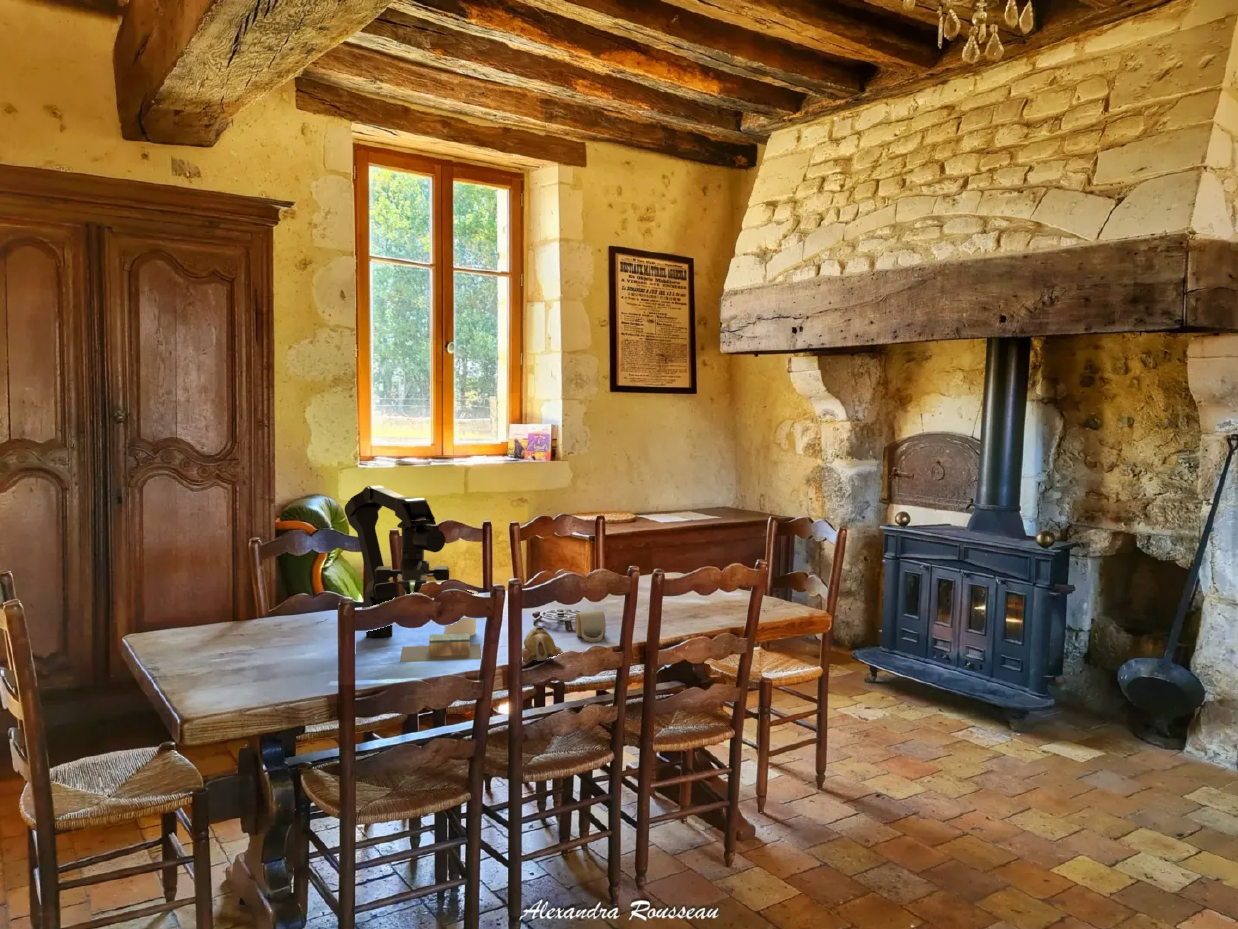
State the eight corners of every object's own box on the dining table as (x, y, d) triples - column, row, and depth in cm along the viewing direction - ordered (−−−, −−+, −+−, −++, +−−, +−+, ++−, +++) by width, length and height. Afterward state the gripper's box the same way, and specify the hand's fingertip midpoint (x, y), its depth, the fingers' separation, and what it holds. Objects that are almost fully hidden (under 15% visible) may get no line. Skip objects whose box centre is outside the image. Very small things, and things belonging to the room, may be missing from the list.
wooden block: (429, 640, 225) (469, 639, 227) (429, 634, 231) (469, 633, 233) (429, 656, 225) (469, 654, 227) (429, 649, 231) (469, 648, 233)
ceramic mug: (573, 633, 253) (574, 607, 252) (601, 632, 254) (601, 607, 254) (580, 644, 243) (580, 617, 242) (608, 642, 244) (609, 616, 244)
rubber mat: (399, 665, 220) (399, 662, 220) (402, 649, 234) (402, 646, 234) (481, 662, 224) (481, 658, 224) (480, 647, 237) (480, 644, 237)
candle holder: (482, 632, 253) (482, 590, 252) (473, 641, 243) (473, 597, 242) (448, 631, 254) (448, 589, 253) (437, 640, 244) (437, 596, 243)
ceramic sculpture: (557, 618, 234) (565, 636, 219) (557, 650, 235) (564, 670, 220) (516, 619, 232) (521, 638, 217) (516, 652, 233) (521, 672, 218)
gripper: (373, 552, 221) (372, 614, 223) (449, 552, 225) (448, 613, 226) (376, 544, 232) (375, 604, 233) (449, 544, 236) (448, 602, 237)
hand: (412, 606), depth 232 cm, fingers closed
